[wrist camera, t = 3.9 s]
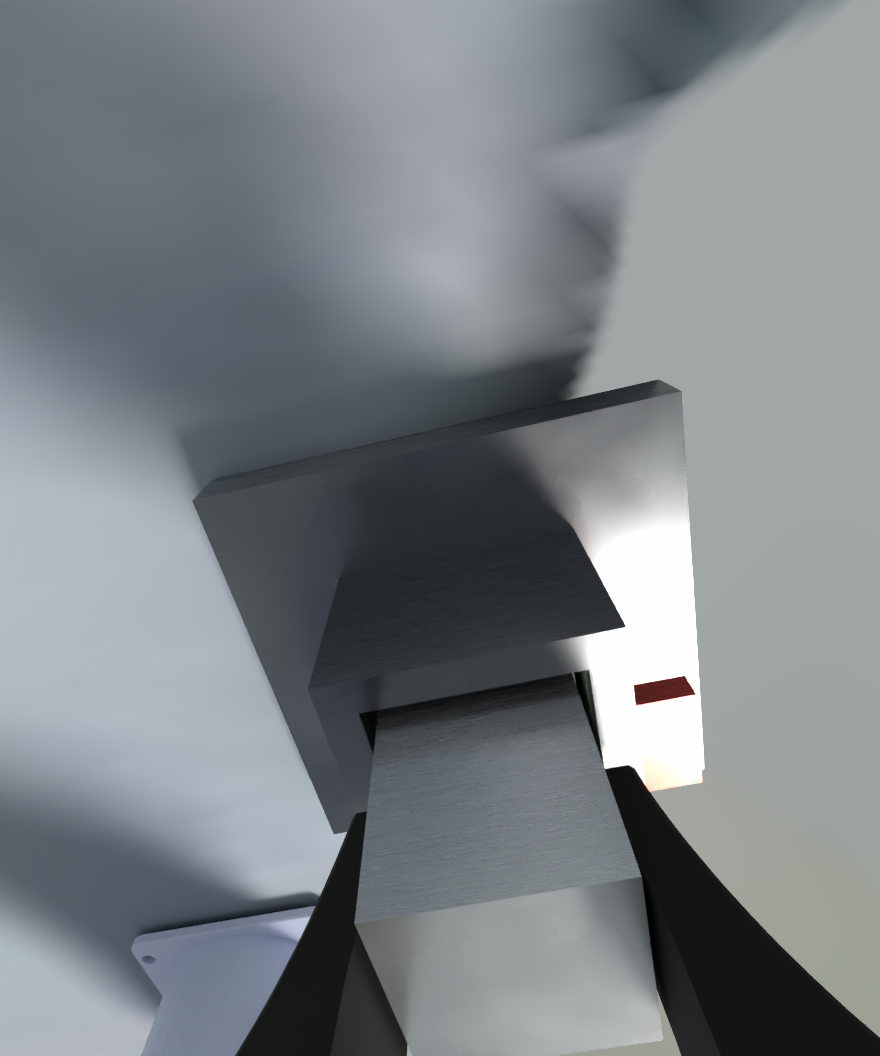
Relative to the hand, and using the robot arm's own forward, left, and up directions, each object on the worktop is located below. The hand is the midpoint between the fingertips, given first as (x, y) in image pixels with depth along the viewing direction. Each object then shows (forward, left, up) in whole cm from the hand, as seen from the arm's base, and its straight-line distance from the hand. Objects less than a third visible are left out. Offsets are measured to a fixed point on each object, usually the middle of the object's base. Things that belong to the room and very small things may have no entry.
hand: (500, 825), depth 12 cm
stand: (0, 0, -7) cm, 7 cm away
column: (0, 0, -6) cm, 6 cm away
